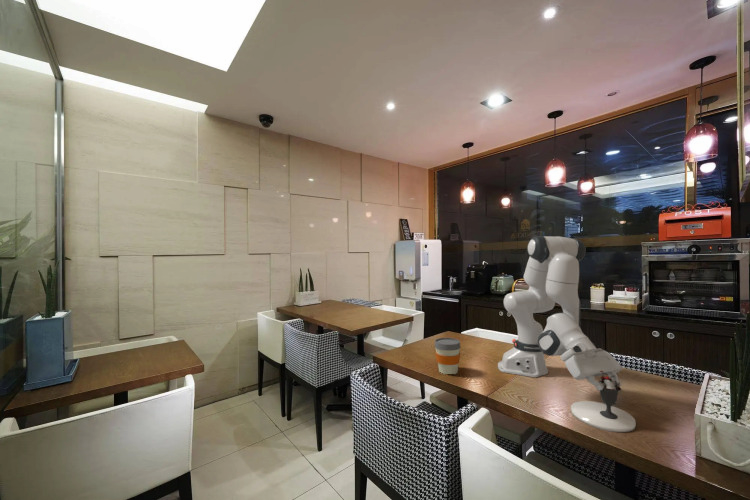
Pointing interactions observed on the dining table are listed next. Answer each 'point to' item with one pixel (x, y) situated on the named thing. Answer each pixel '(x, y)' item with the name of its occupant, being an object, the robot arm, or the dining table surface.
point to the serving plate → (592, 416)
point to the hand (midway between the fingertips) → (610, 388)
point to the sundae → (609, 395)
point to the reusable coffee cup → (447, 355)
